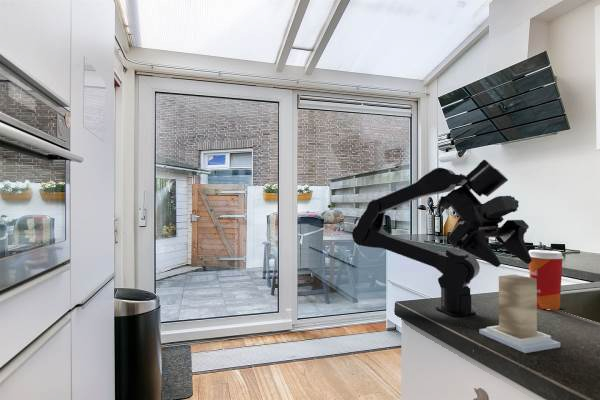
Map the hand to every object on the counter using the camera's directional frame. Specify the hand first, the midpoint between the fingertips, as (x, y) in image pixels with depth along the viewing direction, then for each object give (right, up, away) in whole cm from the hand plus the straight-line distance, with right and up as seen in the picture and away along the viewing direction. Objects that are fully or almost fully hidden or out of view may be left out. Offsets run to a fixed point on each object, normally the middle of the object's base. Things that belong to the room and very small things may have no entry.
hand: (514, 264), depth 72 cm
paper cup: (+18, -14, +16) cm, 28 cm away
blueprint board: (-2, -14, -5) cm, 14 cm away
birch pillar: (-2, -13, -5) cm, 14 cm away
